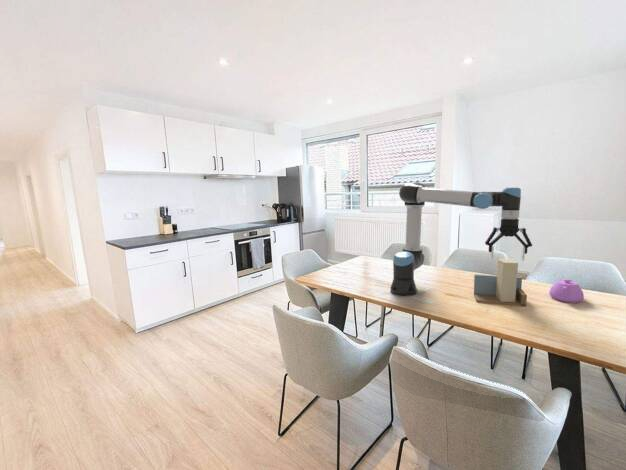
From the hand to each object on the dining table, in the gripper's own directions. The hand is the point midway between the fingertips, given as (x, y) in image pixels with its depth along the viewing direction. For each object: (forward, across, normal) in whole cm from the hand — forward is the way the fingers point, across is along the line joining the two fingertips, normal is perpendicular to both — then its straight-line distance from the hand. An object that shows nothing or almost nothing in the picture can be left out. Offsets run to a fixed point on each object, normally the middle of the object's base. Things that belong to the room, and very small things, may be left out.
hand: (506, 259), depth 151 cm
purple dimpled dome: (+23, +31, +13) cm, 40 cm away
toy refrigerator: (+22, +1, 0) cm, 22 cm away
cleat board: (+23, -2, +1) cm, 23 cm away
